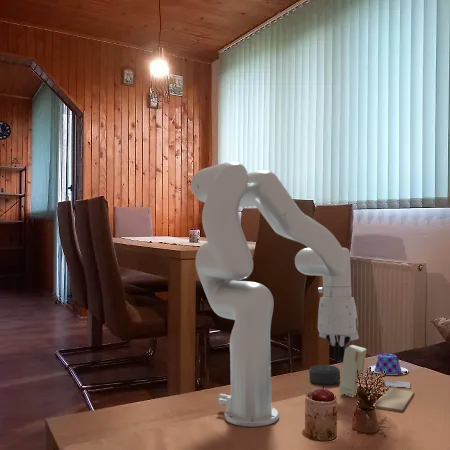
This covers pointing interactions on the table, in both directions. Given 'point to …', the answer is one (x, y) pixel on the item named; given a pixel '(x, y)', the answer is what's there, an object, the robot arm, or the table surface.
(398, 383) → the trowel prop
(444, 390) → the table surface
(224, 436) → the table surface
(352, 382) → the skincare box
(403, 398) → the beige flat slab
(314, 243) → the robot arm
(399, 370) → the pudding
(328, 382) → the smart speaker
